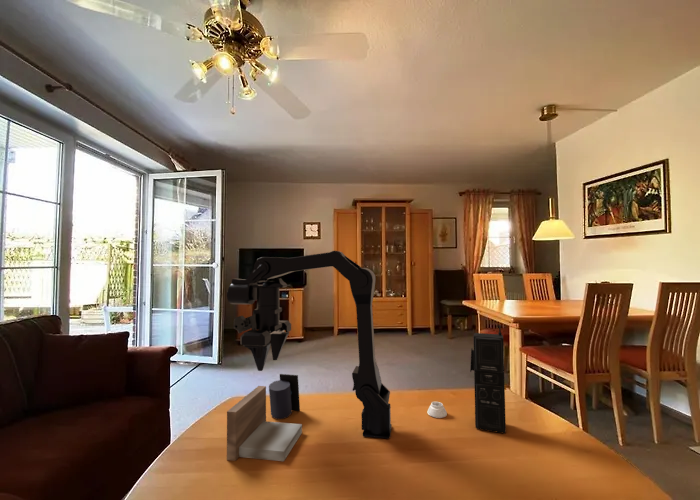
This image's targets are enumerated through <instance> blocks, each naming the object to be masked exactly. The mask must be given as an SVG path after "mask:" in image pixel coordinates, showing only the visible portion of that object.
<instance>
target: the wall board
mask: <svg viewBox="0 0 700 500" xmlns="http://www.w3.org/2000/svg"><path fill="white" fill-rule="evenodd" d="M302 433H303V424H302V423H290V422H279V421H278V422H277V421H267V386H266V385H258V386H257V387H255V388H254V389H253V390H251V392H249V393H248V394H247V395H245V396H244V397H243V398H241V400H239V401H238V402H237V403H235V404H234V405H233V406H232V407H231V408H229V409H228V410H227V411H226V461H232V462H233V461H235V462H236V461H237V460H238V459H239V458H249V459H257V460H268V461H274V462H275V461H278V462H285V461H286V459H287V457H288V456H289V454H290V452H291V451H292V449H293V447H294V446H295V445H296V443H297V441H298V440H299V438H300V437H301V435H302Z"/></svg>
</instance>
